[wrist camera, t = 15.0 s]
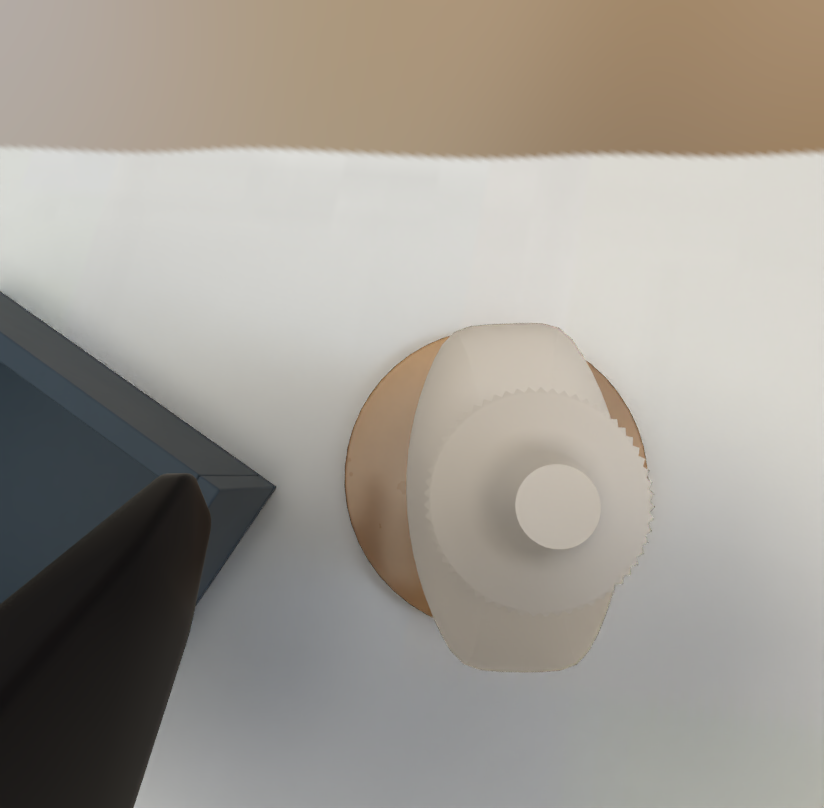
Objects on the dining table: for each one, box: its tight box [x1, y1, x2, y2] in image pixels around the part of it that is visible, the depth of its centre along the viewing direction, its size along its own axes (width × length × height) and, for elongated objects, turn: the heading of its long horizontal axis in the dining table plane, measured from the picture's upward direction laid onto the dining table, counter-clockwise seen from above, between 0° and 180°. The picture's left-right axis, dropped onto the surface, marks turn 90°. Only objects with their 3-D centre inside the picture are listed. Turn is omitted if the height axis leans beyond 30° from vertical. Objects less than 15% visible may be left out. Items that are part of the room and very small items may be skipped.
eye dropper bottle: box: [406, 323, 655, 672], centre depth 11 cm, size 4×6×12 cm
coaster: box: [345, 336, 648, 617], centre depth 17 cm, size 8×8×1 cm
